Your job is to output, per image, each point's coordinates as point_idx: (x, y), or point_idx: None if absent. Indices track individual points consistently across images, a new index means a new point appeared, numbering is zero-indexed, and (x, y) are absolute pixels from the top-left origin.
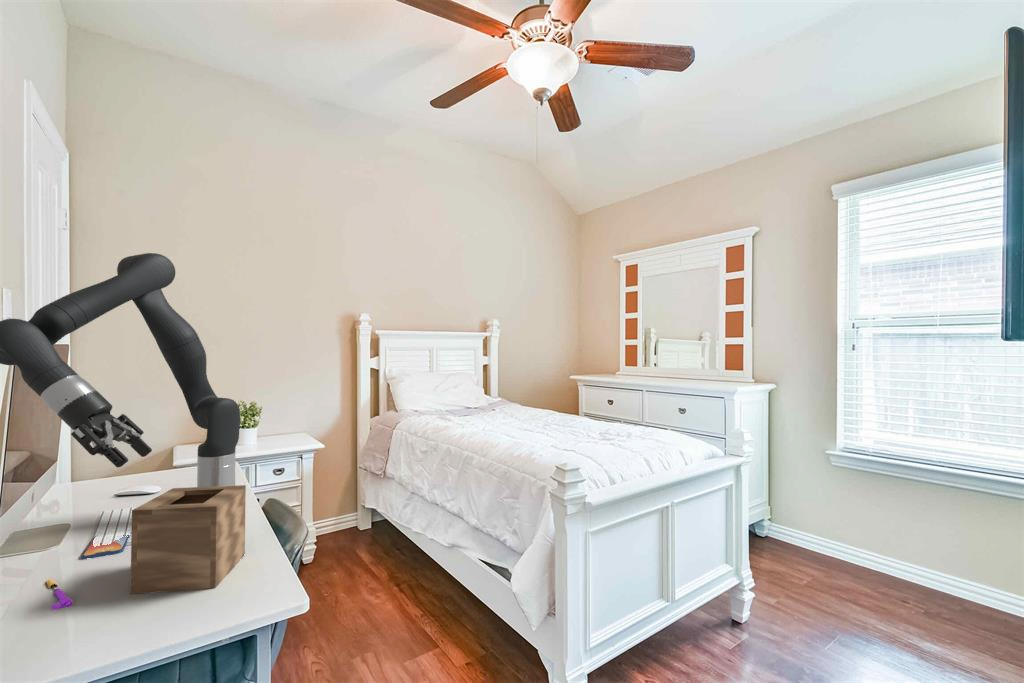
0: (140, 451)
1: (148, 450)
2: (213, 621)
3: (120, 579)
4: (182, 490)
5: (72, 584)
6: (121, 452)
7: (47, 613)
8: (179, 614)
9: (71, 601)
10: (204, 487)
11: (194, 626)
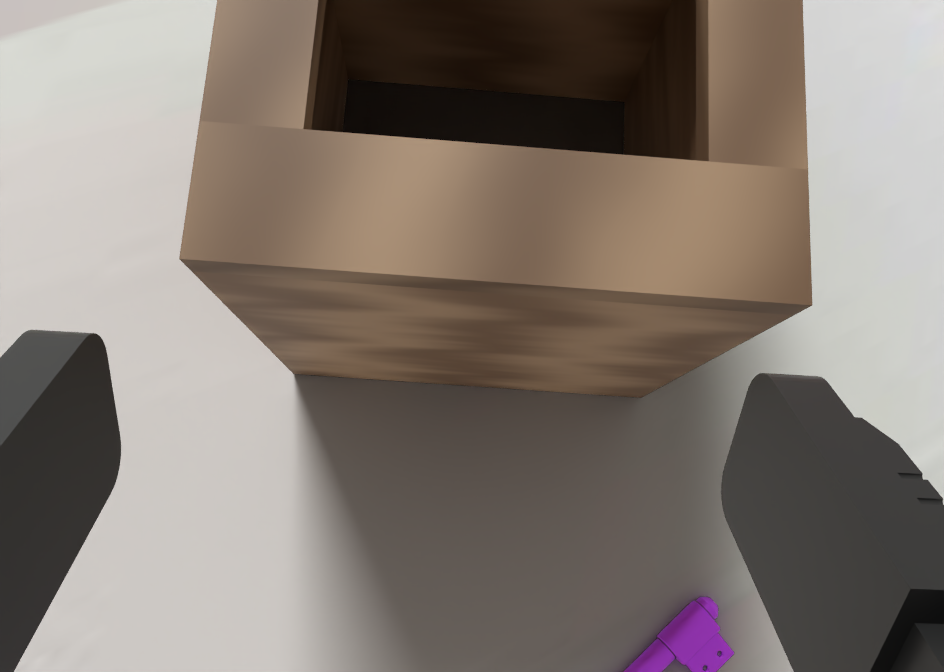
0: (75, 500)
1: (88, 362)
2: (897, 17)
3: (472, 521)
4: (289, 151)
5: None
6: (828, 468)
7: (758, 658)
8: (836, 141)
9: (701, 603)
10: (237, 9)
11: (922, 64)
